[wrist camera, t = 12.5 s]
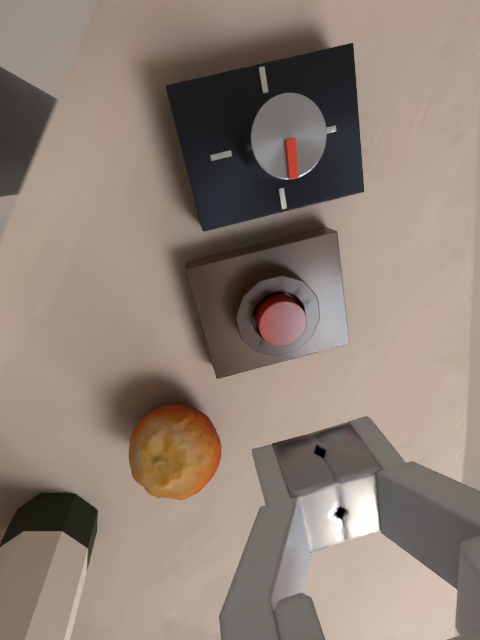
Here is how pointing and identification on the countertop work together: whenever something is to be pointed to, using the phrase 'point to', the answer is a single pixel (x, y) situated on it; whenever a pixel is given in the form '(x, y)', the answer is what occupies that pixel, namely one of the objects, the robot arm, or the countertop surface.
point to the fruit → (174, 451)
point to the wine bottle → (45, 566)
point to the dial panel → (230, 118)
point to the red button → (280, 320)
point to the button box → (261, 282)
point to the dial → (284, 137)
